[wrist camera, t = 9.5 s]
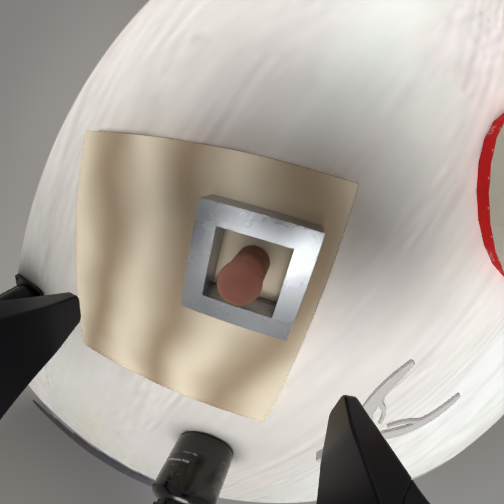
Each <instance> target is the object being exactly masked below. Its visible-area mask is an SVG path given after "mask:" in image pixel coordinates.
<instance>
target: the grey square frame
mask: <svg viewBox="0 0 504 504" xmlns="http://www.w3.org/2000/svg"><path fill="white" fill-rule="evenodd" d="M225 229H228V230H232V231H235V232H238V233H242V234H245V235H249V236H252V237H255V238H259V239H262V240H265V241H269V242H272V243H275V244H279V245H282V246H285V247H288V248H292V249H293V252H292V255H291V258H290V261H289V265H288V268H287V271H286V274H285V277H284V280H283V283H282V286H281V289H280V292H279V295H278V299H277V302H275V301H272V300H268V299H265V298H262V297H259V296H258V297H257V298H256V299H255V300H254V301H253V302H251V303H249V304H247V305H242V306H237V305H233V304H230V303H228V302H227V301H225V300H224V299H223V298H222V296H221V295H220V293H219V291H218V288H217V283H216V282H214V277H215V273H216V268H217V263H218V259H219V254H220V250H221V245H222V241H223V236H224V232H225ZM324 236H325V231H324V228H323V226H322V225H319V224H316V223H313V222H309V221H306V220H303V219H299V218H296V217H293V216H289V215H286V214H283V213H279V212H276V211H272V210H269V209H265V208H262V207H258V206H255V205H251V204H248V203H244V202H240V201H237V200H233V199H229V198H226V197H222V196H218V195H214V194H211V195H207V196H203V197H199V201H198V206H197V211H196V216H195V222H194V227H193V232H192V238H191V243H190V249H189V255H188V261H187V267H186V273H185V279H184V286H183V293H182V300H181V306H183V307H186V308H189V309H191V310H194V311H197V312H199V313H202V314H205V315H208V316H210V317H213V318H216V319H219V320H222V321H225V322H228V323H231V324H233V325H236V326H239V327H242V328H246V329H249V330H252V331H255V332H258V333H261V334H264V335H268V336H271V337H274V338H277V339H281V340H284V341H286V340H287V338H288V335H289V333H290V330H291V328H292V325H293V322H294V320H295V317H296V315H297V312H298V309H299V307H300V304H301V301H302V299H303V296H304V293H305V291H306V288H307V285H308V282H309V280H310V277H311V274H312V271H313V268H314V265H315V262H316V260H317V257H318V254H319V251H320V248H321V245H322V242H323V239H324Z"/></svg>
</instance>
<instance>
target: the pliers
mask: <svg viewBox="0 0 504 504" xmlns="http://www.w3.org/2000/svg"><path fill="white" fill-rule="evenodd" d="M414 365H415V363H414V361H413V360H409V361H408V362H407V363H405V364H404V365H403V366H401V367H400V368H399V369H397V370H396V371H395V372H393V373H392V374H391V375H390V376H389V377H388V378H387V379H386V380H384V381H383V382H382V383H381V384H380V385H379V386H378V387H377V388H376V389H375V390H374V392H373V393H372V394H371V395H370V396H369V398H368V399H367V400H366V401H365V403H364V404H363V408H364V409H365V411H366V412H367V413H368V415H369V416H370V418H371V419H372V417H373V414H374V411H375V410H376V408H377V407H379V408H380V409H381V410H382V414H381V417H380V419H379V421H378V422H379V424H381V423H382V422H383V420H384V417H385V415H386V410H385V405H384V403H383V399H384V398H385V396H386V395H387V394H388V393H389V392H390V390H391V389H392V388H393V387H394V386H395V385H396V384H397V383H398V382H399V381H400V380H401V379H402V377H403V376H404V375H405V374H406V373H407V372H408V371H409V370H410V369H411V368H412V367H413V366H414ZM459 398H460V394H459V393H457V394H455V395H454V396H453V397H452V398H450V399H449V400H448V401H446V402H445V403H444V404H442V405H441V406H439V407H438V408H437V409H435V410H433V411H432V412H430V413H429V414H427V415H425V416H423V417H421V418H409V419H402V420H398V421H395V422H392V423H389V424H387V427H388V428H389V427H392V426H396V425H400V424H405V423H409V424H406V425H403V426H400V427H396V428H392V429H387V430H383V431H381V434H382V435H383V437H384V438H385V439H389V438H394V437H398V436H401V435H404V434H407V433H409V432H411V431H414V430H416V429H418V428H420V427H422V426H424V425H425V424H427V423H429V422H431V421H432V420H434V419H435V418H437V417H438V416H439V415H441V414H442V413H443V412H445V411H446V410H447V409H448V408H449V407H450V406H452V405H453V404H454V403H455V402H456V401H457V400H458V399H459ZM322 452H323V449H322V450H320V451H318V452H317V454H316V460H317V461H318V462H321V458H322Z"/></svg>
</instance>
